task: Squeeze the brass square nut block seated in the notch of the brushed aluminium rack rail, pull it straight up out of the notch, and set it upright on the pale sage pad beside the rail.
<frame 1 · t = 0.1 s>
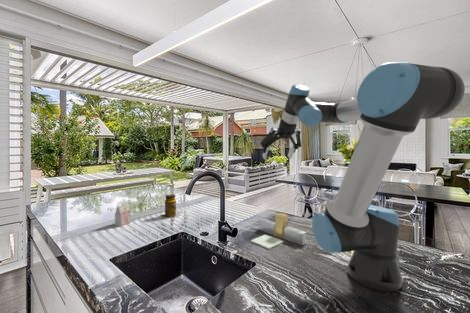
hand: (276, 157, 117), 36 cm above the worktop, tool tilted 35°, fingers open, 13 cm apart
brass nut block: (281, 236, 110), resting in rack rail
milk carton: (123, 224, 122), on the worktop
rack rail: (281, 236, 110), on the worktop
sage pad: (267, 242, 103), on the worktop
condiment: (168, 216, 136), on the worktop
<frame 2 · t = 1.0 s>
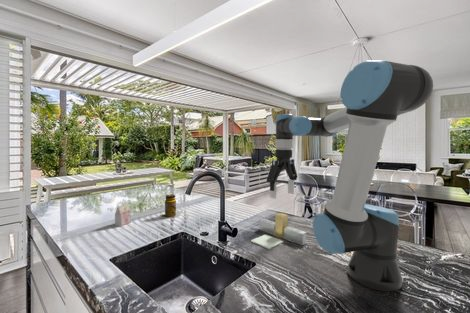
hand: (282, 195, 108), 19 cm above the worktop, tool pointing down, fingers open, 13 cm apart
nothing on the worktop moved.
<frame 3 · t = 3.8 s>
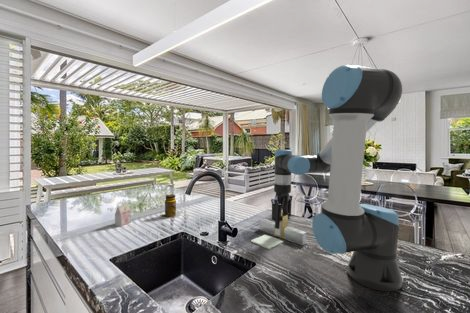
hand: (281, 233, 109), 1 cm above the worktop, tool pointing down, fingers closed on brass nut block, 4 cm apart
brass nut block: (281, 236, 110), resting in rack rail, touching gripper
everything else where it was.
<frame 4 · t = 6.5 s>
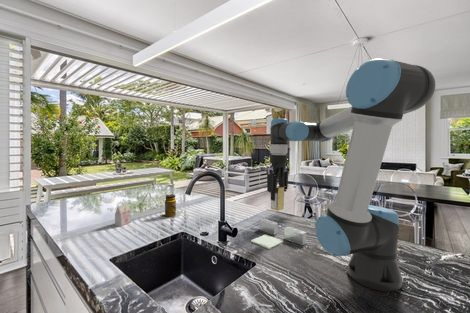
hand: (277, 206, 106), 15 cm above the worktop, tool pointing down, fingers closed on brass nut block, 4 cm apart
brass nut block: (277, 208, 106), point 13 cm above the worktop, touching gripper
everything else where it was.
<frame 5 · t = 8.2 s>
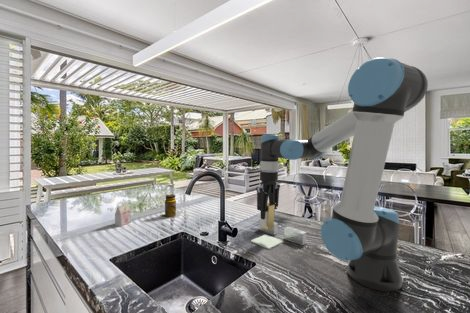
hand: (267, 224, 102), 8 cm above the worktop, tool pointing down, fingers closed on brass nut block, 4 cm apart
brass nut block: (267, 227, 102), point 6 cm above the worktop, touching gripper
everything else where it was.
when the fingers open (3 cm above the worktop, at t = 9.6 s): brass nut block drops 1 cm, resting on sage pad.
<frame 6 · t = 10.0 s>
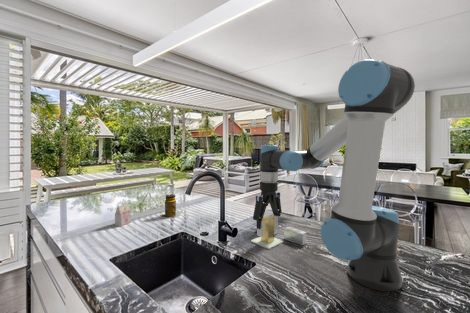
hand: (267, 232, 102), 4 cm above the worktop, tool pointing down, fingers open, 9 cm apart
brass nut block: (267, 240, 103), point 1 cm above the worktop, touching sage pad
everything else where it was.
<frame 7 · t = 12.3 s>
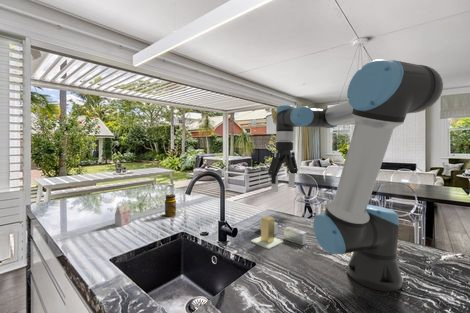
hand: (283, 189, 106), 22 cm above the worktop, tool pointing down, fingers open, 13 cm apart
nothing on the worktop moved.
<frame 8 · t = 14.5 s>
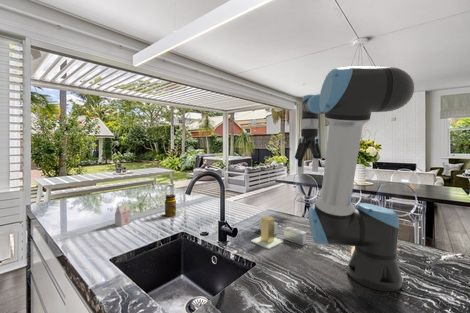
hand: (308, 172, 115), 29 cm above the worktop, tool pointing down, fingers open, 13 cm apart
nothing on the worktop moved.
at the end: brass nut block inside the target area on the sage pad (0.1 cm from its centre), point 0.6 cm above the sage pad's base; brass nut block tilted 0°; the gripper is holding nothing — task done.
